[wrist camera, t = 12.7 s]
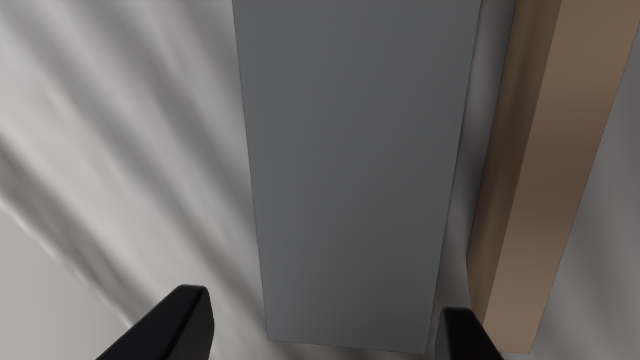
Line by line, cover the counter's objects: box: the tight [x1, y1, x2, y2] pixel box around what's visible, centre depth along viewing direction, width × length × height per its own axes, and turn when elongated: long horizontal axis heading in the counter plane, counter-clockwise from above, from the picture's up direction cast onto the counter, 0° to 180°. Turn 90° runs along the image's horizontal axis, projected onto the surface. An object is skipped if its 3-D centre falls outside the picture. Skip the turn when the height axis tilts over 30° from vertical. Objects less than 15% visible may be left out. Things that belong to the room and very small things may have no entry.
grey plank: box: [232, 0, 481, 355], centre depth 13 cm, size 16×5×1 cm, turn 1°
